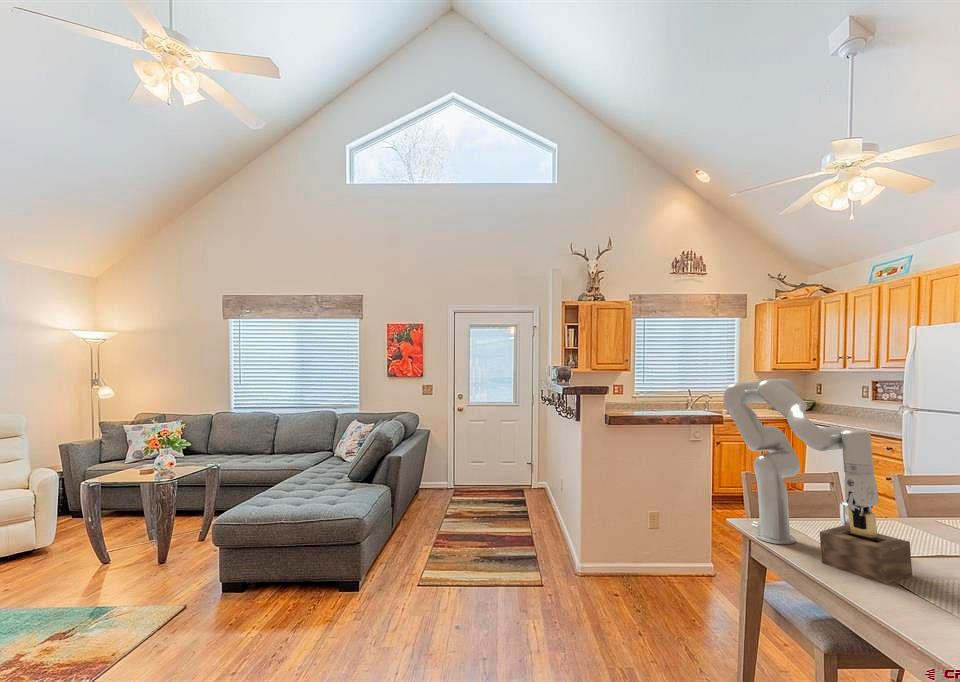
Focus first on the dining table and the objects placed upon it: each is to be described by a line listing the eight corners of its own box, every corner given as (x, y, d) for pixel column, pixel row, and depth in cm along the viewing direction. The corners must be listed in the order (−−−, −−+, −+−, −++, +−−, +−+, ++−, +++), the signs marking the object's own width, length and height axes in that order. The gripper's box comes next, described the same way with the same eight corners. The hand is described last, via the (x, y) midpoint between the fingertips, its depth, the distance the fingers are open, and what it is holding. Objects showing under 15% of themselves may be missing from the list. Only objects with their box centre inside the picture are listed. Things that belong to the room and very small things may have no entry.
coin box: (821, 562, 157) (819, 531, 158) (846, 555, 163) (844, 525, 163) (886, 584, 141) (884, 549, 141) (912, 575, 146) (909, 541, 147)
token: (850, 533, 154) (848, 510, 155) (856, 531, 155) (853, 509, 156) (872, 538, 149) (869, 514, 149) (877, 536, 150) (874, 513, 151)
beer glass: (861, 544, 172) (858, 502, 173) (871, 551, 165) (867, 507, 166) (838, 543, 174) (835, 501, 175) (847, 550, 167) (844, 506, 168)
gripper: (856, 473, 147) (861, 535, 146) (886, 468, 154) (891, 526, 152) (830, 469, 154) (834, 528, 152) (859, 464, 160) (864, 520, 159)
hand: (862, 526), depth 152 cm, fingers closed on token, 2 cm apart
